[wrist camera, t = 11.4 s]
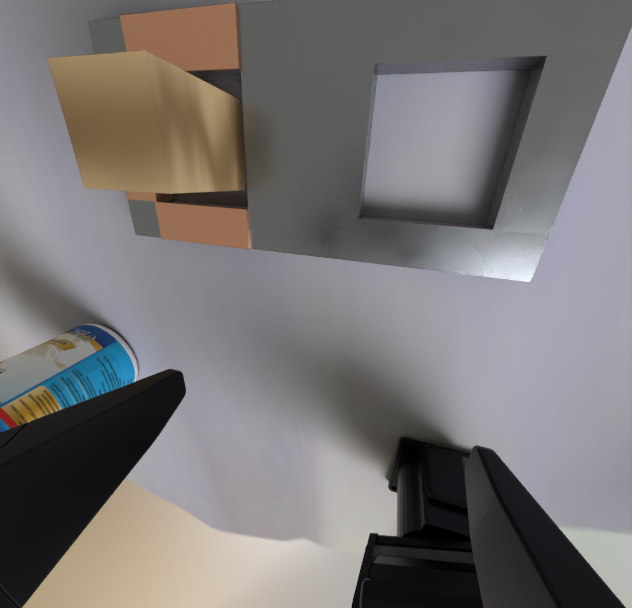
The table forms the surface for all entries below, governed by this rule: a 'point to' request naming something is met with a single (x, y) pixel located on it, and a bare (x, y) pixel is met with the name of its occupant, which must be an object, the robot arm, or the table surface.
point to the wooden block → (149, 125)
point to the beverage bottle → (63, 373)
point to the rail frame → (357, 111)
